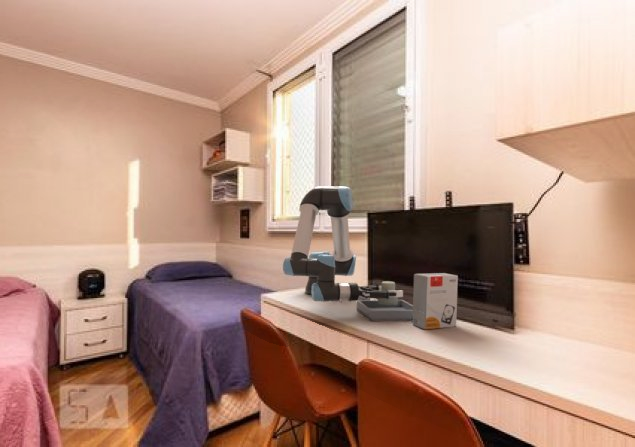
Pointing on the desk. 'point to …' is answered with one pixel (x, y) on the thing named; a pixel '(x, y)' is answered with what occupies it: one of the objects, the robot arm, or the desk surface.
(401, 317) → the tray
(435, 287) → the hard drive box
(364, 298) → the game die
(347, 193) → the robot arm
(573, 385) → the desk surface
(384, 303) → the air freshener
